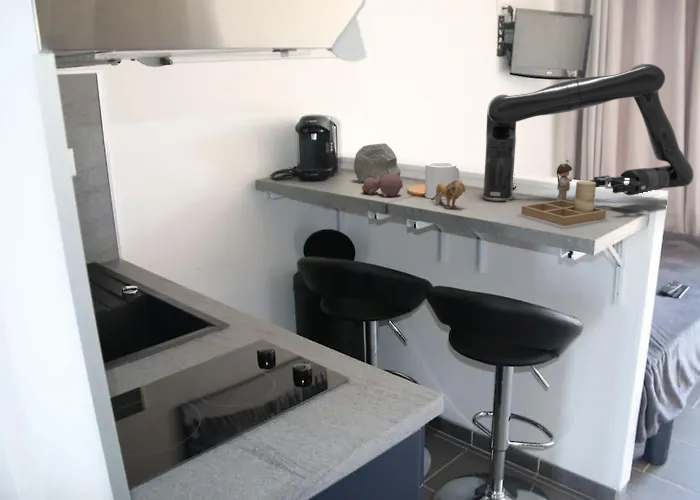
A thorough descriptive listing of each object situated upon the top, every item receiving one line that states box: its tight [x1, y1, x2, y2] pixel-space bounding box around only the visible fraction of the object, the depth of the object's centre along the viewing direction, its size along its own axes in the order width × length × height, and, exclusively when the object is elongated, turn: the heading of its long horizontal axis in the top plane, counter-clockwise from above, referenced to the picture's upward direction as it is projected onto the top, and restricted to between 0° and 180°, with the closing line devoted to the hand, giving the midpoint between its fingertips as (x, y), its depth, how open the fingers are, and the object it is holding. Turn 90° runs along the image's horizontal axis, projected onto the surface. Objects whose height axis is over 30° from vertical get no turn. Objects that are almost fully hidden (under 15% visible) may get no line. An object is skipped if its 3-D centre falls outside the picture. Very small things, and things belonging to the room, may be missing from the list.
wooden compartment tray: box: [520, 199, 607, 227], centre depth 183 cm, size 16×16×3 cm
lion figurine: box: [430, 179, 468, 210], centre depth 199 cm, size 15×5×9 cm, turn 33°
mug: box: [424, 161, 461, 200], centre depth 213 cm, size 14×10×11 cm
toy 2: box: [554, 157, 573, 201], centre depth 199 cm, size 6×6×15 cm
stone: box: [353, 142, 402, 182], centre depth 234 cm, size 19×7×15 cm, turn 53°
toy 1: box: [361, 173, 404, 198], centre depth 216 cm, size 8×8×15 cm
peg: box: [574, 180, 597, 213], centre depth 180 cm, size 5×5×10 cm
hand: (601, 186), depth 182 cm, fingers open, 8 cm apart
